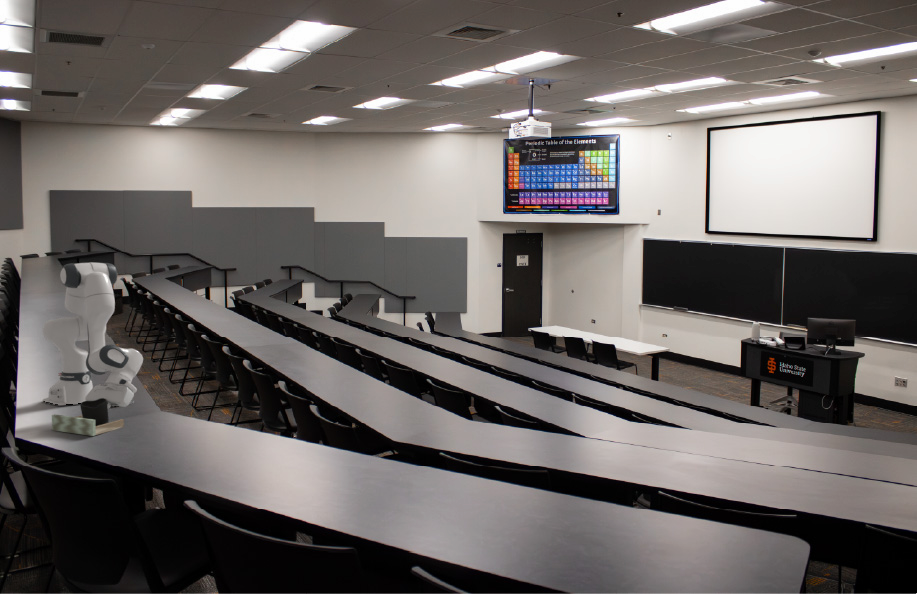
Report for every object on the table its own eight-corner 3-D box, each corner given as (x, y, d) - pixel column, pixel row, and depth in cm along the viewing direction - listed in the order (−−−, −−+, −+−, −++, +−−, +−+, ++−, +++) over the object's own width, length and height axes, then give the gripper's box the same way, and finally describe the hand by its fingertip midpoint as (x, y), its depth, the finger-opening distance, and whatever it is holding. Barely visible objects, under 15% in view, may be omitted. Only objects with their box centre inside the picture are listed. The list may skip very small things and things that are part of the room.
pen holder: (98, 430, 270) (95, 406, 268) (78, 429, 272) (74, 405, 270) (115, 421, 279) (111, 398, 277) (95, 420, 281) (91, 397, 279)
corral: (52, 430, 270) (51, 415, 270) (84, 421, 284) (83, 407, 284) (93, 435, 263) (92, 420, 263) (123, 426, 277) (123, 412, 276)
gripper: (92, 379, 286) (74, 407, 278) (131, 381, 280) (113, 411, 271) (102, 387, 291) (83, 415, 282) (140, 390, 284) (123, 419, 276)
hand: (98, 413), depth 277 cm, fingers closed, pressing on pen holder
